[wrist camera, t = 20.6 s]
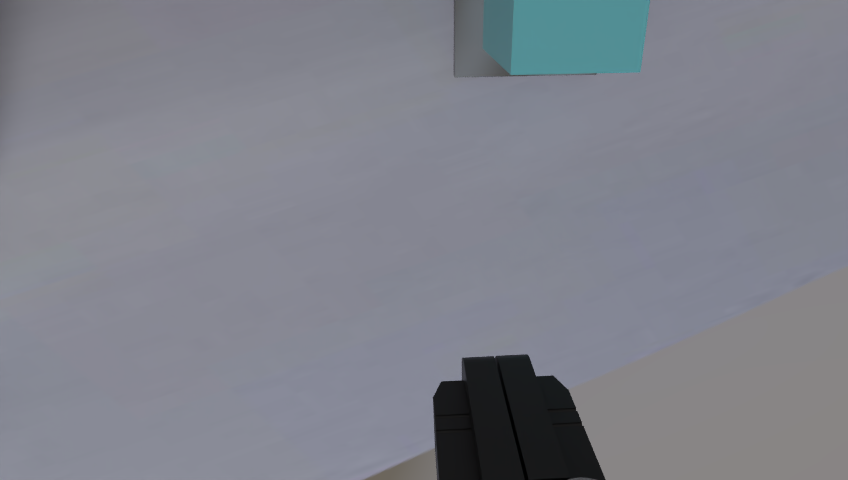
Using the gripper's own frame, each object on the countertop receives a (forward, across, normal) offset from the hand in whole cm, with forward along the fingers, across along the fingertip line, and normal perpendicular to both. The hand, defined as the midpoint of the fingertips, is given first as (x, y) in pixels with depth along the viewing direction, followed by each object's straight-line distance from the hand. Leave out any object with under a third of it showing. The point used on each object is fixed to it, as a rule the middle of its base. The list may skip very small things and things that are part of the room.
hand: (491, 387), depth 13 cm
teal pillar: (+26, -6, -8) cm, 28 cm away
